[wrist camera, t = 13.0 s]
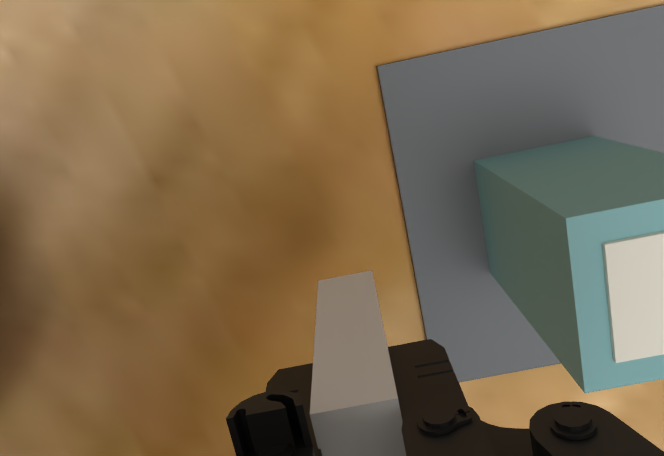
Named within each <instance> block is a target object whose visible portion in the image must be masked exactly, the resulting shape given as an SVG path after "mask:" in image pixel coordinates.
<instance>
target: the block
mask: <svg viewBox="0 0 664 456" xmlns="http://www.w3.org/2000/svg"><path fill="white" fill-rule="evenodd" d="M474 166H475V172H476V179H477V186H478V193H479V200H480V207H481V213H482V220H483V227H484V234H485V241H486V247H487V254H488V261H489V268H490V273H491V275H492V276H493V277H494V278H495V280H496V281H497V282H498V283H499V285H500V286H501V287H502V289H503V290H504V291H505V292H506V294H507V295H508V296H509V297H510V299H511V300H512V301H513V303H514V304H515V305H516V306H517V308H518V309H519V310H520V311H521V313H522V314H523V315H524V316H525V318H526V319H527V320H528V322H529V323H530V324H531V325H532V327H533V328H534V329H535V330H536V332H537V333H538V334H539V336H540V337H541V338H542V339H543V341H544V342H545V343H546V344H547V346H548V347H549V348H550V349H551V351H552V352H553V353H554V355H555V356H556V357H557V358H558V360H559V361H560V362H561V363H562V365H563V366H564V367H565V369H566V370H567V371H568V372H569V374H570V375H571V376H572V377H573V379H574V380H575V381H576V383H577V384H578V385H579V386H580V388H581V389H582V390H583V391H584V393H589V392H594V391H600V390H605V389H611V388H616V387H622V386H627V385H633V384H638V383H644V382H649V381H655V380H660V379H664V153H662V152H658V151H654V150H650V149H646V148H642V147H638V146H634V145H630V144H626V143H622V142H617V141H613V140H609V139H605V138H601V137H597V136H592V137H588V138H583V139H578V140H573V141H568V142H563V143H558V144H553V145H548V146H543V147H538V148H533V149H528V150H524V151H519V152H514V153H509V154H504V155H499V156H494V157H489V158H484V159H479V160H474Z"/></svg>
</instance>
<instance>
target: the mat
mask: <svg viewBox="0 0 664 456" xmlns="http://www.w3.org/2000/svg"><path fill="white" fill-rule="evenodd" d="M377 70H378V76H379V81H380V87H381V92H382V98H383V103H384V109H385V114H386V120H387V125H388V130H389V136H390V141H391V147H392V152H393V158H394V163H395V169H396V174H397V180H398V185H399V191H400V196H401V202H402V207H403V213H404V218H405V224H406V229H407V235H408V240H409V246H410V251H411V257H412V262H413V268H414V273H415V279H416V284H417V290H418V295H419V301H420V306H421V312H422V317H423V323H424V328H425V334H426V339H427V340H428V339H432V340H433V341H435V342H437V343H438V344H440V345H441V346H443V347H444V348H445V350H446V353H447V355H448V358H449V361H450V362H451V365H452V367H453V370H454V372H455V375H456V377H457V380H458V382H463V381H469V380H474V379H480V378H485V377H490V376H496V375H501V374H507V373H512V372H517V371H523V370H528V369H533V368H539V367H544V366H550V365H555V364H560V363H561V362H560V361H559V360H558V358H557V357H556V356H555V355H554V353H553V352H552V351H551V349H550V348H549V347H548V346H547V344H546V343H545V342H544V341H543V339H542V338H541V337H540V336H539V334H538V333H537V332H536V330H535V329H534V328H533V327H532V325H531V324H530V323H529V322H528V320H527V319H526V318H525V316H524V315H523V314H522V313H521V311H520V310H519V309H518V308H517V306H516V305H515V304H514V303H513V301H512V300H511V299H510V297H509V296H508V295H507V294H506V292H505V291H504V290H503V289H502V287H501V286H500V285H499V283H498V282H497V281H496V280H495V278H494V277H493V276H492V275H491V273H490V268H489V261H488V254H487V247H486V241H485V234H484V227H483V220H482V213H481V207H480V200H479V193H478V186H477V179H476V172H475V166H474V160H479V159H484V158H489V157H494V156H499V155H504V154H509V153H514V152H519V151H524V150H528V149H533V148H538V147H543V146H548V145H553V144H558V143H563V142H568V141H573V140H578V139H583V138H588V137H592V136H597V137H601V138H605V139H609V140H613V141H617V142H622V143H626V144H630V145H634V146H638V147H642V148H646V149H650V150H654V151H658V152H662V153H664V5H660V6H656V7H651V8H646V9H642V10H637V11H632V12H628V13H623V14H618V15H614V16H609V17H604V18H600V19H595V20H590V21H586V22H581V23H576V24H572V25H567V26H562V27H558V28H553V29H548V30H544V31H539V32H534V33H530V34H525V35H520V36H516V37H511V38H506V39H502V40H497V41H492V42H488V43H483V44H478V45H474V46H469V47H464V48H460V49H455V50H450V51H446V52H441V53H436V54H432V55H427V56H422V57H418V58H413V59H408V60H404V61H399V62H394V63H390V64H385V65H380V66H377Z"/></svg>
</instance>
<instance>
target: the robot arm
mask: <svg viewBox="0 0 664 456" xmlns="http://www.w3.org/2000/svg"><path fill="white" fill-rule="evenodd" d="M226 421H227V424H228V428H229V431H230V435H231V438H232V442H233V445H234V449H235V452H236V456H664V452H663V451H662V450H660V449H659V448H658V447H656V446H655V445H654V444H652V443H651V442H650V441H648V440H647V439H645V438H644V437H643V436H641V435H640V434H639V433H637V432H636V431H635V430H633V429H632V428H631V427H629V426H628V425H626V424H625V423H624V422H622V421H621V420H620V419H618V418H617V417H616V416H614V415H613V414H611V413H610V412H608V411H606V410H604V409H602V408H600V407H598V406H596V405H592V404H587V403H583V402H561V403H556V404H551V405H548V406H546V407H544V408H542V409H540V410H538V411H537V412H536V413H535V414H534V415H533V417H532V418H531V419H530V427H529V429H515V428H503V427H498V426H494V425H490V424H488V423H485V422H483V421H481V420H480V418H479V416H478V414H477V413H476V412H475V411H474V410H473V408H471V407H469V406H468V404H467V402H466V399H465V397H464V394H463V392H462V390H461V387H460V385H459V382H458V380H457V377H456V375H455V372H454V370H453V367H452V365H451V362H450V361H449V358H448V355H447V353H446V350H445V348H444V347H443V346H441V345H440V344H438V343H437V342H435V341H433V340H432V339H428V340H423V341H418V342H412V343H407V344H402V345H397V346H391V347H387V342H386V337H385V332H384V327H383V322H382V317H381V312H380V307H379V302H378V297H377V292H376V287H375V282H374V277H373V272H372V270H370V271H365V272H360V273H355V274H350V275H345V276H340V277H335V278H330V279H325V280H320V281H318V293H317V309H316V324H315V340H314V355H313V363H311V364H306V365H300V366H295V367H290V368H285V369H279V370H278V371H277V372H276V373H275V375H274V376H273V377H272V378H271V379H270V380H269V382H268V383H267V388H266V392H264V393H261V394H257V395H254V396H252V397H250V398H248V399H246V400H244V401H242V402H241V403H239V404H238V405H237V406H236V407H234V408H233V409H232V410H231V411H230V413H229V415H228V416H227V418H226Z"/></svg>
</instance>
